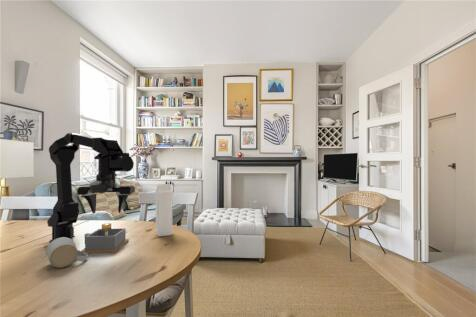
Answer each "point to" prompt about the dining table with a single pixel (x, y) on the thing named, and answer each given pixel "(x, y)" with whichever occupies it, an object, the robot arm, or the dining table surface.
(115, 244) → the grey square tray
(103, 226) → the plunger
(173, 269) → the dining table surface
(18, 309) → the dining table surface
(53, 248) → the ceramic mug
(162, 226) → the milk
